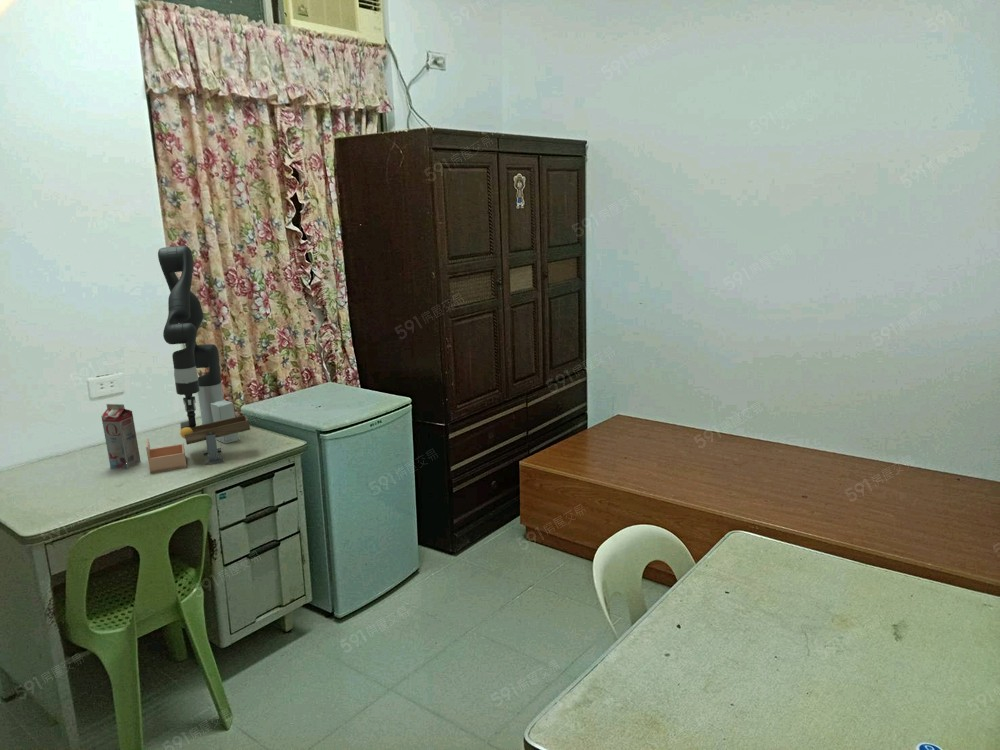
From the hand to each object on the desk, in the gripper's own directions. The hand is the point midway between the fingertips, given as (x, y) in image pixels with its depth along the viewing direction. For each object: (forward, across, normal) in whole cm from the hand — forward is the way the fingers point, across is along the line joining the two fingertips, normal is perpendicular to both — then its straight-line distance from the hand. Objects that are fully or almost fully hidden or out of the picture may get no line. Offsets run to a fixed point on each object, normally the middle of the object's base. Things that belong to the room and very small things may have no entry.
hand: (192, 423), depth 250 cm
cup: (+11, +8, -9) cm, 17 cm away
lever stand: (+11, +8, +5) cm, 15 cm away
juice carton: (+12, 0, -23) cm, 26 cm away
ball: (+1, +8, -2) cm, 9 cm away
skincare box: (+11, -10, +11) cm, 18 cm away
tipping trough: (+3, +4, +7) cm, 9 cm away
